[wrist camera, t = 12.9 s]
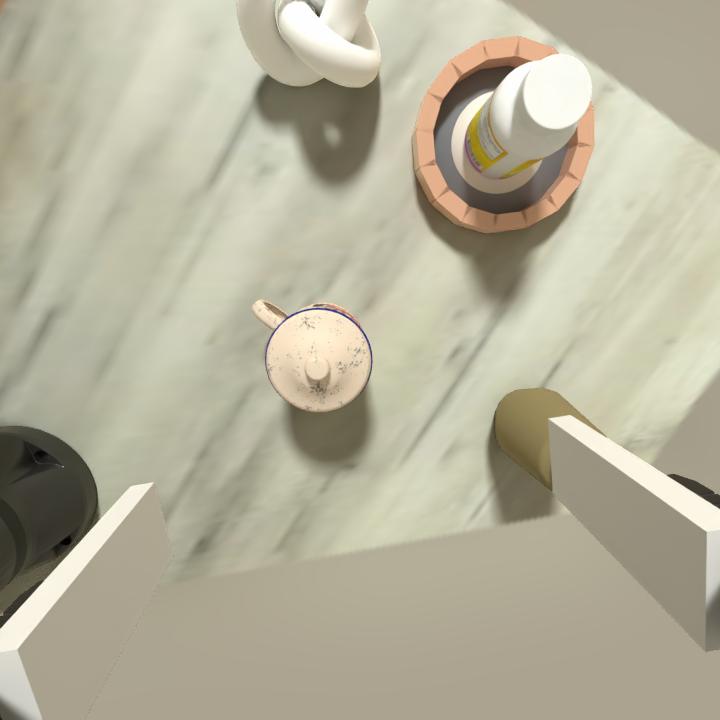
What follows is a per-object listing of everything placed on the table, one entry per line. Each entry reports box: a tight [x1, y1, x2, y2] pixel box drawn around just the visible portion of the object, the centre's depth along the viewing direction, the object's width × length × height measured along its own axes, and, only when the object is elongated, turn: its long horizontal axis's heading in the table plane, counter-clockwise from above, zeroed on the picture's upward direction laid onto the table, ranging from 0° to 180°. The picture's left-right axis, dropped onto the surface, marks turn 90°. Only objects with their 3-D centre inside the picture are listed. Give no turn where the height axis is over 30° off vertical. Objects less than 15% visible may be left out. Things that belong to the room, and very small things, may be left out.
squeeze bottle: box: [495, 388, 607, 491], centre depth 41 cm, size 8×8×18 cm
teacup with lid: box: [252, 300, 372, 412], centre depth 41 cm, size 12×9×12 cm
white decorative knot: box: [236, 0, 381, 88], centre depth 37 cm, size 11×12×9 cm
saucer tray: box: [412, 36, 594, 234], centre depth 43 cm, size 16×16×3 cm
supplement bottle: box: [464, 54, 592, 180], centre depth 37 cm, size 7×7×13 cm
